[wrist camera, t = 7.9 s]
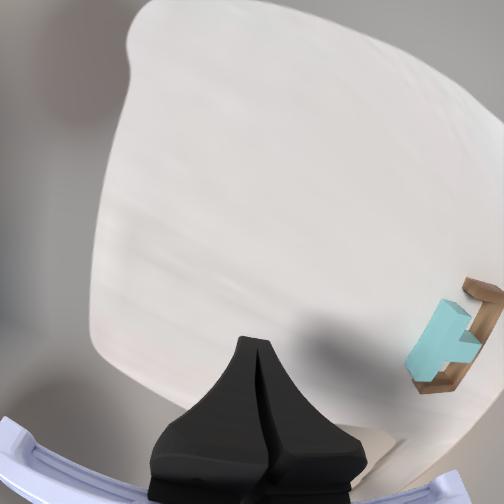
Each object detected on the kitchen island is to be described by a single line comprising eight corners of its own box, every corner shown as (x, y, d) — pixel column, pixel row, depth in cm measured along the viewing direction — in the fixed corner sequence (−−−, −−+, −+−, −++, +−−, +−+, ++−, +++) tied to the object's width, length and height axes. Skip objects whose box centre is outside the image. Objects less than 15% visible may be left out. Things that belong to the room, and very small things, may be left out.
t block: (446, 366, 26) (457, 381, 23) (404, 363, 25) (415, 381, 22) (480, 309, 23) (494, 323, 20) (441, 298, 23) (457, 313, 20)
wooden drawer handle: (445, 378, 26) (453, 391, 24) (411, 380, 26) (420, 394, 24) (496, 285, 22) (509, 295, 20) (466, 277, 22) (481, 287, 19)
